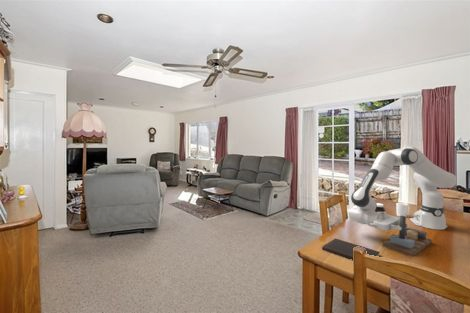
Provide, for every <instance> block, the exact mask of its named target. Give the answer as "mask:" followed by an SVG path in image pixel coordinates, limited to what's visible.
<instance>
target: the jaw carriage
mask: <svg viewBox="0 0 470 313" xmlns="http://www.w3.org/2000/svg"><path fill="white" fill-rule="evenodd" d="M399 218H400V225H399V226H401V227H402V230H398V231H399V236H398V234H394V233H393V234H392V235H389V239H390V242H392V243H395V244H398V245H401V246H405V247H408V248H411V249H412V248H413V247H414V241H415V240H412V239H408V238H405V228H406V227H405V226H406V224H407V223H406V222H407V219H406V218H407V217H406V216H400V217H399Z"/></svg>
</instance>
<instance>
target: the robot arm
mask: <svg viewBox="0 0 470 313" xmlns="http://www.w3.org/2000/svg"><path fill="white" fill-rule="evenodd" d="M396 166H408V167H409V168H410V169H411V170H412V171H413V172H414V173H413V180H414V181H415V182H416V184H417V185H418V187H419V188H420V191H421V193H422V194H421V196H422V201H421V204H420V208H419V209H418V210H417V211H415V212H414V213H413V217H410V218H409V220H410V222H412V223H413V224H414V225H416V226H418V227H422V228H427V229H431V230H446V229H447V228H448V225H447V222H446V215H445V214H444V213H445V207H444V197H445V196H444V195H443V194H442V193H441V192H440V191H439V190H438V188H439V189H440V188H441V189H452V188H454V187H455V186H456V184H457V180H458V179H457V177H456V175H455V174H453V173H452V172H449V171H446V170H445V169H443V168H441V167H439V166H438V165H436V164H435V163H433V162H432V161H431V160H430V159H429V158H428V157H427V156H426V155H425V154H424V153H423V152H422V151H421V150H419V149H418V148H417V147H415V146H413V145H410V146H406V147H404V148H396V149H395V148H394V149H388V150H387V149H386V150H384V151H381V152H379V153H378V155H377V156H376V158H375V160H374V161H373V162H372V165H371V168H370V169H369V170H368V171H367V172H366V174H365V175H364V176H363V178H362V180H361V181H360V183H359V186H358V187H357V189H355V190H354V191H353V192H352V194H351V196H350V199H351V202H352V203H353V206H352V207H350V208H349V209H348V217H349V219H350V220H351V221H353V222H355V223H357V224H361V225H366V226H369V227H372V228H375V229H377V230H380V231H383V232H388V231H390V230H396V231H397V230H398V231H399V230H402V227H401V226H400V217H399V216H396V215H391V214H387V212H386V213H377V212H375V210H376V207H377V204H376V203H377V201H376V200H375V198H373V197H372V196H371V195H370V191H371V190H372V188H373V187H374V184H375V182H377V181H385V180H387V179H389V177H390V176H391V173H392V171H393V168H394V167H396ZM408 225H409V224H408V223H406V226H405V228H406V227H408V228H409V226H408Z"/></svg>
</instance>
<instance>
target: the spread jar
mask: <svg viewBox="0 0 470 313" xmlns="http://www.w3.org/2000/svg"><path fill="white" fill-rule="evenodd" d="M376 204H377V207H376V210H375V212H377V213H386V214H387V211H386V208H385V206H384V204H383V203H381V202H380V203H379V202H376Z"/></svg>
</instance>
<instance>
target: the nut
mask: <svg viewBox="0 0 470 313" xmlns="http://www.w3.org/2000/svg"><path fill="white" fill-rule="evenodd" d="M407 238H408V239H412V240H418V232H416V231H413V230H407Z"/></svg>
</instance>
